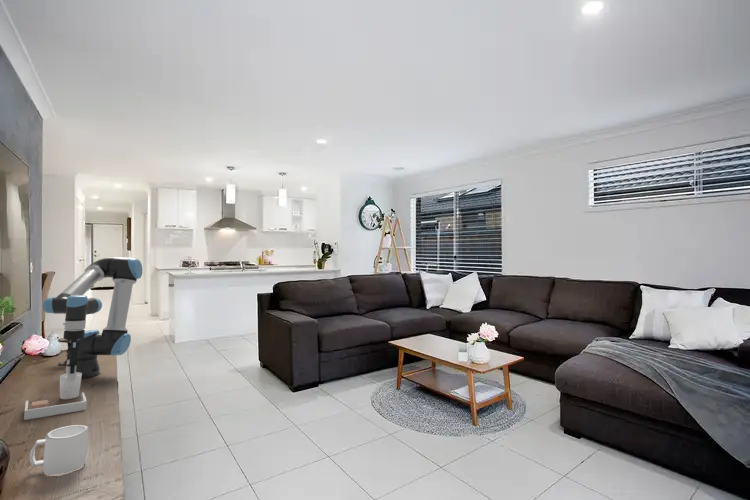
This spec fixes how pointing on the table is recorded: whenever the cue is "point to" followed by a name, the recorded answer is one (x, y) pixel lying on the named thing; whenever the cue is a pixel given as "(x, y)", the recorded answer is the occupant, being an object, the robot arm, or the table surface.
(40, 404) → the salmon pink block
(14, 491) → the table surface
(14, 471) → the table surface
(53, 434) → the mug
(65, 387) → the white cup
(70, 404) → the frame
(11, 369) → the table surface
